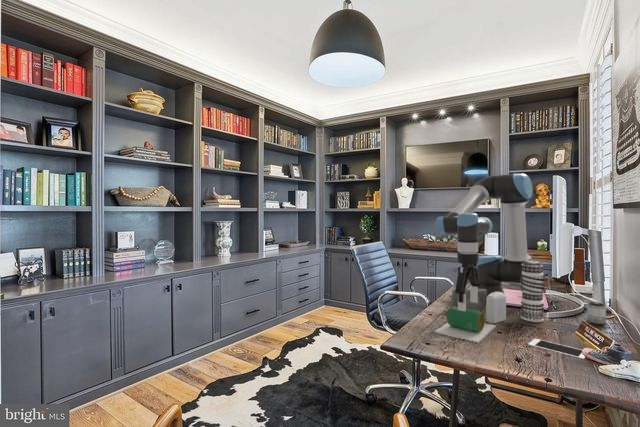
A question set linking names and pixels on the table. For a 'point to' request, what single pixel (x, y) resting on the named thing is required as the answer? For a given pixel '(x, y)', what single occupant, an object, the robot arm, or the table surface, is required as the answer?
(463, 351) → the table surface
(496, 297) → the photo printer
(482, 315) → the beverage can
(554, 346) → the cell phone
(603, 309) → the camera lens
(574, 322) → the table surface
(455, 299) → the grey translucent bin
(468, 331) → the desk mat
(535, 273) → the tower model
